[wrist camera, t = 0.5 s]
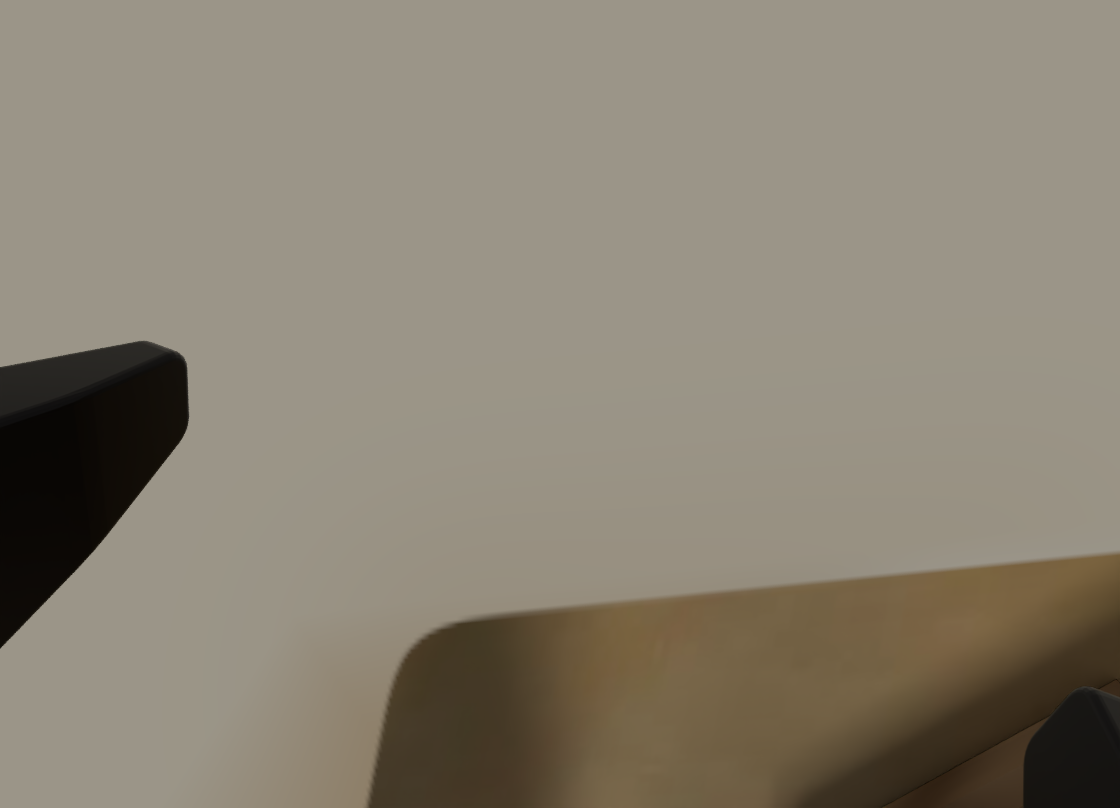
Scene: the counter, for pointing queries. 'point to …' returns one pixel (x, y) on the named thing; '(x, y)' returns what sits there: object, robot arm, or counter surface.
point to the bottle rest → (982, 776)
